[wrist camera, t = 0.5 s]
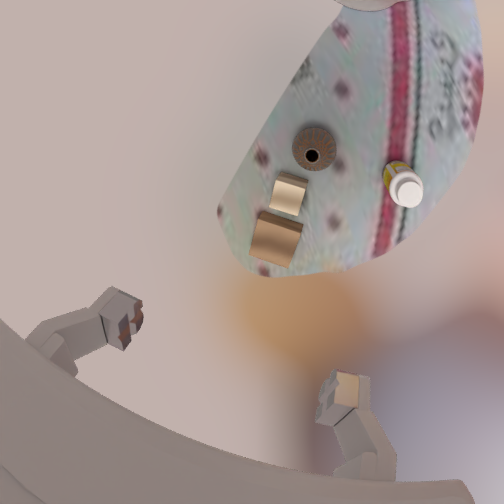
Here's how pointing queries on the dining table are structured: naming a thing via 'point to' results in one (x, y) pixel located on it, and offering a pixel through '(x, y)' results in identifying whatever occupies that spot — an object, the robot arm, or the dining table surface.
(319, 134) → the vase
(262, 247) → the walnut block
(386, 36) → the dining table surface
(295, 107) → the dining table surface
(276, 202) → the maple cube
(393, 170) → the supplement bottle
